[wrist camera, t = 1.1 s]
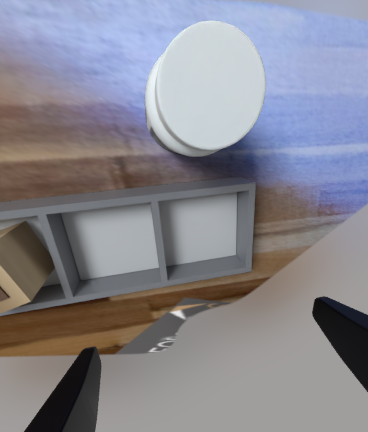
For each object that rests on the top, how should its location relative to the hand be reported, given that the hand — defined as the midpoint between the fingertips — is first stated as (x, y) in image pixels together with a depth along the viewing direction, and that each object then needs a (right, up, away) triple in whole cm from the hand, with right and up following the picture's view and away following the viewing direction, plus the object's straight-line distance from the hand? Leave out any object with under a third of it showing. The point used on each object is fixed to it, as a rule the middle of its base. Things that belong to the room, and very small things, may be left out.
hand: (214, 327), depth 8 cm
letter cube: (-14, +2, +7) cm, 15 cm away
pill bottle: (-2, +12, +7) cm, 14 cm away
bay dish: (-7, +3, +9) cm, 12 cm away
